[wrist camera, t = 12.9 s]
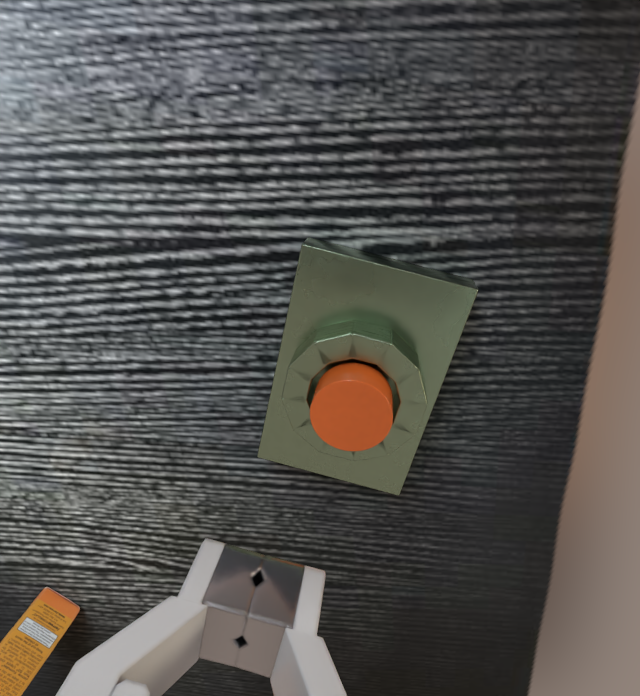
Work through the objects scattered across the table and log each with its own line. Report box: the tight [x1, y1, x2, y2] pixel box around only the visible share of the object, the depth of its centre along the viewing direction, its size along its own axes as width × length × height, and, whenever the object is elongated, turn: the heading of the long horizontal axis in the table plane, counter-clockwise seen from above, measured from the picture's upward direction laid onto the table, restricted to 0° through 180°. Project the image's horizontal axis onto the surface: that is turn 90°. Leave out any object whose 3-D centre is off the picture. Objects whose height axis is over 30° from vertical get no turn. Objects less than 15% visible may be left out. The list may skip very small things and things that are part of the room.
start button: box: [310, 363, 393, 451], centre depth 21 cm, size 4×4×2 cm
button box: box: [257, 237, 478, 495], centre depth 23 cm, size 12×8×4 cm, turn 167°
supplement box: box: [0, 587, 80, 696], centre depth 32 cm, size 3×3×10 cm
